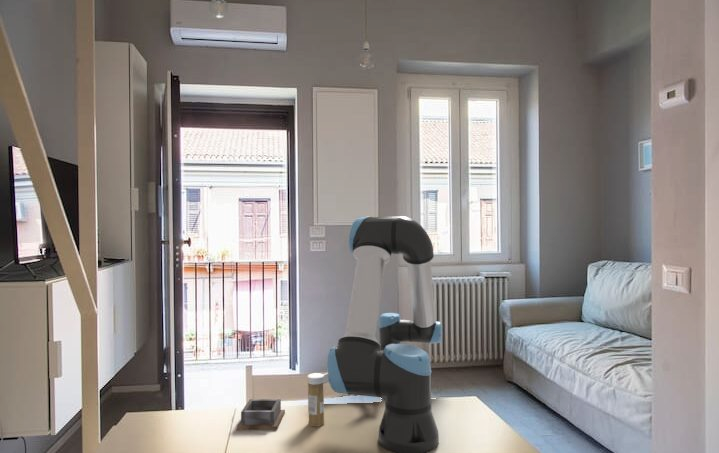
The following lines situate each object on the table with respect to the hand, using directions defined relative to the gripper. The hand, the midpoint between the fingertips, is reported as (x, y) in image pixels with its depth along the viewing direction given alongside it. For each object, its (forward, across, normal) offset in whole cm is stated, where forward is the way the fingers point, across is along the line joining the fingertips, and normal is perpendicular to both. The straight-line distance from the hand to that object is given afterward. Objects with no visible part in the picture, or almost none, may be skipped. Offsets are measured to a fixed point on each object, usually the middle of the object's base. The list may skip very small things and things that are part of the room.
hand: (338, 384), depth 132 cm
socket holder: (+18, +14, -8) cm, 24 cm away
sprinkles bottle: (+11, 0, -8) cm, 13 cm away
